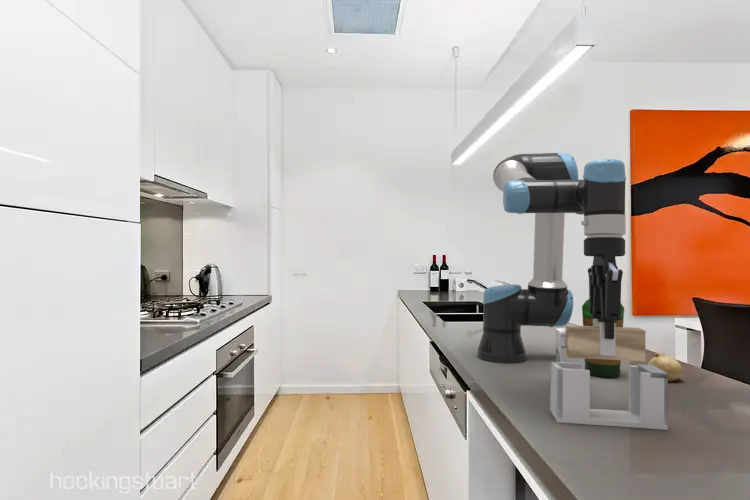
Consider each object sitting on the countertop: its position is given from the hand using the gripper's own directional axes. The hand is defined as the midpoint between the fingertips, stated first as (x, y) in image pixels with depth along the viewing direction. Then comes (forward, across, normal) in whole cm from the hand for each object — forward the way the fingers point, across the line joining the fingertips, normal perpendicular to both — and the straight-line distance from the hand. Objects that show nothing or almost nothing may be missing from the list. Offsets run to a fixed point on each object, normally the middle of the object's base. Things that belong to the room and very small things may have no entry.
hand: (603, 352), depth 91 cm
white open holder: (+14, 0, 0) cm, 14 cm away
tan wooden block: (+1, 0, 0) cm, 1 cm away
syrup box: (+14, -22, -1) cm, 26 cm away
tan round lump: (+14, -36, +26) cm, 46 cm away
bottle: (+13, -37, +11) cm, 41 cm away
